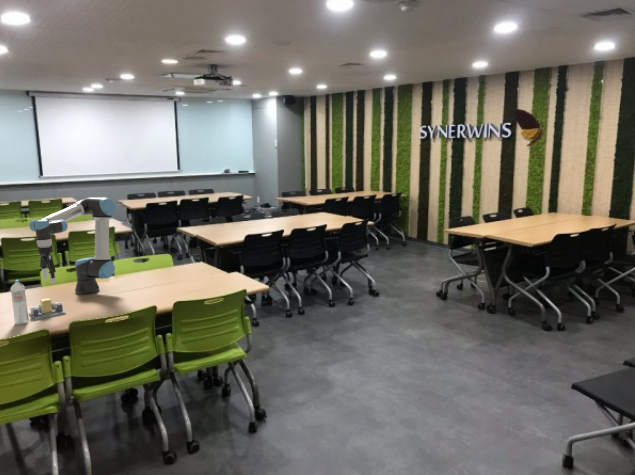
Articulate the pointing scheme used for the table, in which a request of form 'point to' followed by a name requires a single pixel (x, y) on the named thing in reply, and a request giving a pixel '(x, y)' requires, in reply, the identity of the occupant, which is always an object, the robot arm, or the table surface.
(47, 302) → the pale yellow block
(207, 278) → the table surface
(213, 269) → the table surface
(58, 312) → the shaft bench
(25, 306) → the water bottle
